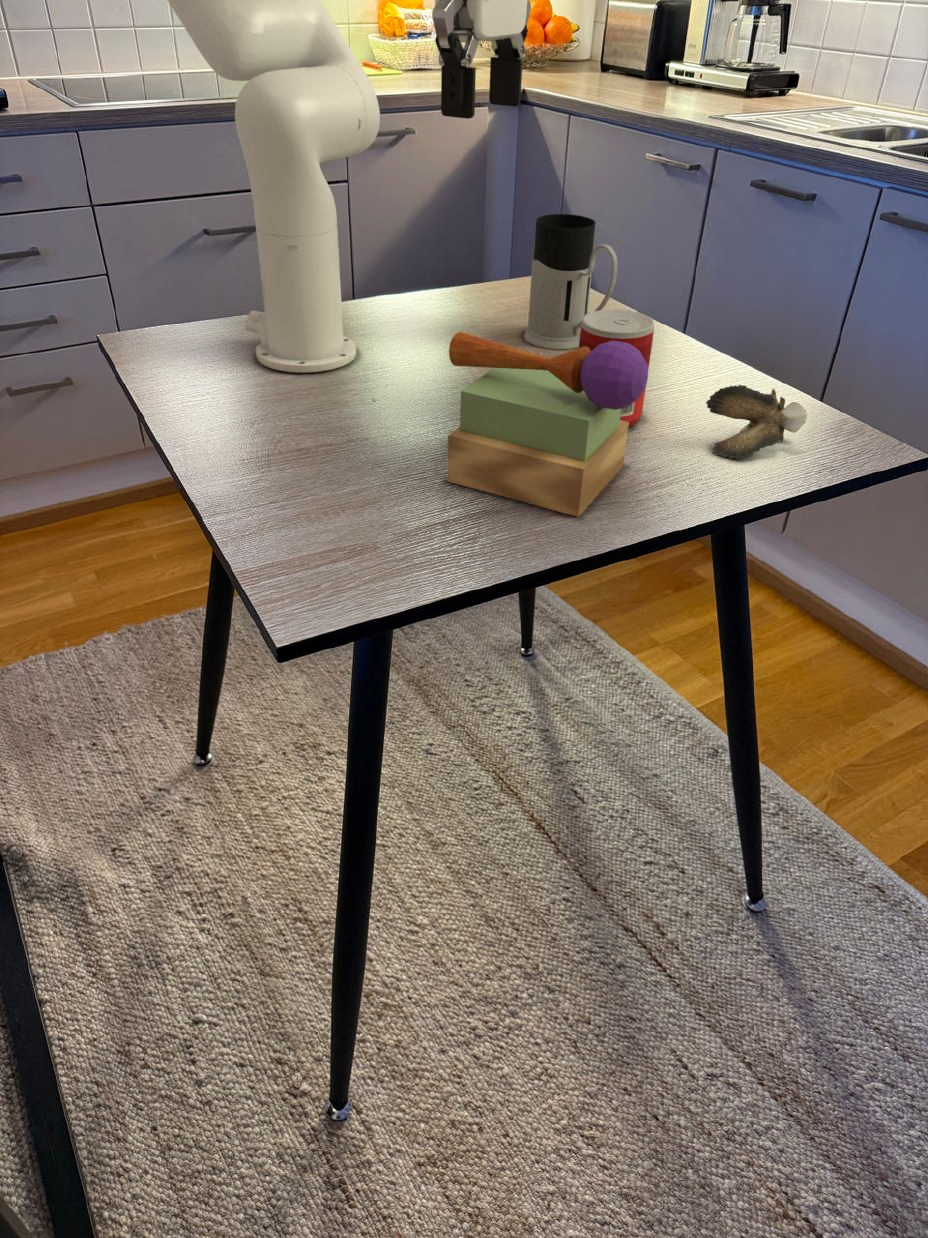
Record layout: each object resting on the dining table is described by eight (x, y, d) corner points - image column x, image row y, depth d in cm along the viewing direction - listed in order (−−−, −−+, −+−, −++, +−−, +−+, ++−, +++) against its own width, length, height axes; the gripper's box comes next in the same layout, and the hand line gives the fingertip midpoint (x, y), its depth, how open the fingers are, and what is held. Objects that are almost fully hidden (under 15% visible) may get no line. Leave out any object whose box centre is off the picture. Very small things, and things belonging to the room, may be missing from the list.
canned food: (651, 412, 108) (665, 316, 101) (624, 437, 102) (637, 337, 96) (590, 397, 111) (600, 304, 104) (560, 421, 105) (569, 323, 99)
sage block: (459, 430, 91) (460, 390, 88) (500, 398, 97) (502, 361, 95) (584, 461, 86) (589, 420, 84) (619, 426, 92) (624, 387, 90)
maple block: (447, 481, 93) (447, 434, 90) (500, 437, 101) (502, 392, 98) (578, 517, 88) (583, 468, 85) (623, 467, 96) (629, 421, 93)
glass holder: (559, 323, 132) (569, 209, 124) (630, 353, 123) (645, 233, 114) (510, 334, 128) (517, 217, 119) (579, 366, 119) (592, 242, 110)
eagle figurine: (749, 411, 106) (690, 410, 101) (794, 371, 100) (733, 368, 95) (776, 468, 103) (717, 470, 99) (823, 431, 97) (762, 431, 93)
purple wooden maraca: (477, 315, 94) (663, 343, 84) (473, 376, 96) (653, 409, 86) (442, 319, 89) (635, 348, 79) (439, 382, 92) (625, 419, 82)
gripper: (494, -112, 87) (487, 97, 97) (397, -124, 75) (401, 117, 85) (569, -112, 84) (554, 104, 94) (481, -125, 72) (475, 126, 82)
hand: (482, 110), depth 89 cm, fingers open, 9 cm apart
